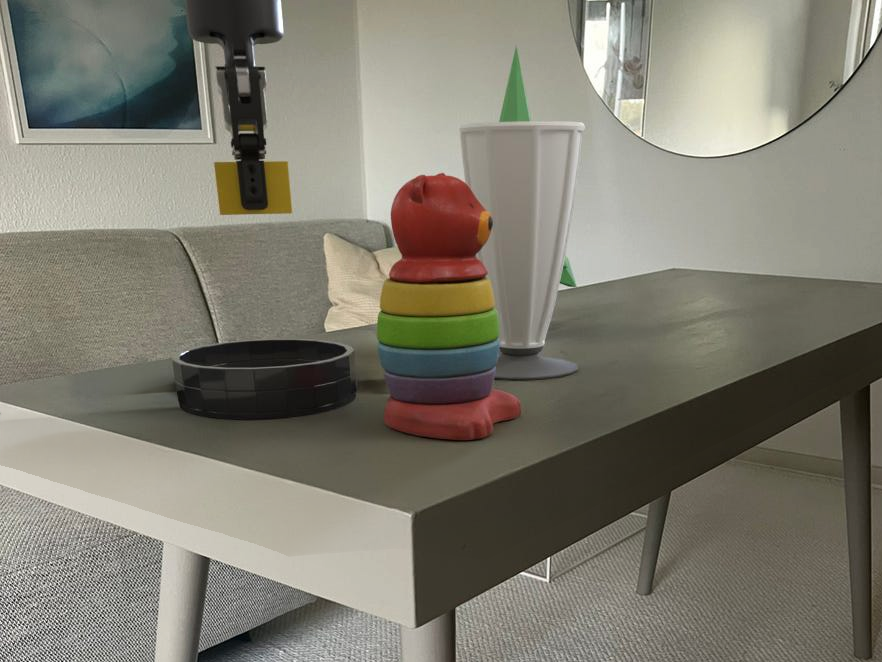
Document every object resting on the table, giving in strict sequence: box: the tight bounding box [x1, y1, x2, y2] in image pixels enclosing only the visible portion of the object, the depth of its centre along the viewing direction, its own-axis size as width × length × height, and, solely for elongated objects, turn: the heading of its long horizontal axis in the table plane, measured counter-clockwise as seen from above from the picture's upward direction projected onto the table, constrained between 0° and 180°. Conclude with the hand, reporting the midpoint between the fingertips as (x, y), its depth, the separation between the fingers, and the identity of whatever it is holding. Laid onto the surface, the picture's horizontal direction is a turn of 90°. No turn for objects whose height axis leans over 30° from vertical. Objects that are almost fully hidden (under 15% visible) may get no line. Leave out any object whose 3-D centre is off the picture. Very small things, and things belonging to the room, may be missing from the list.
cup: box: [459, 120, 586, 381], centre depth 93 cm, size 12×12×22 cm
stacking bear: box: [376, 172, 522, 441], centre depth 74 cm, size 11×10×18 cm
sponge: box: [213, 160, 293, 216], centre depth 84 cm, size 6×4×4 cm, turn 103°
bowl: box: [171, 338, 357, 420], centre depth 86 cm, size 15×15×4 cm
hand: (254, 207), depth 85 cm, fingers closed on sponge, 4 cm apart
